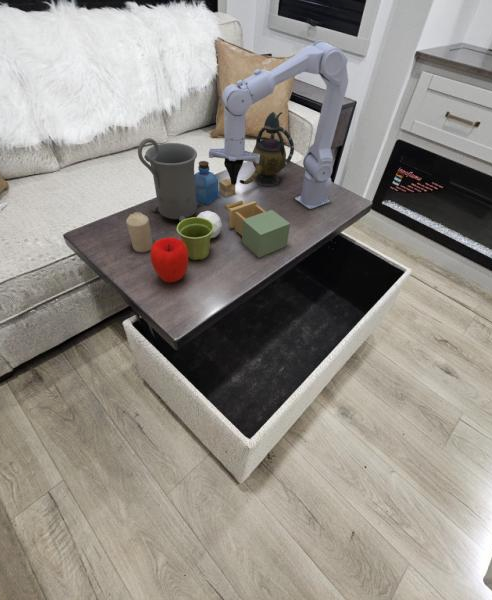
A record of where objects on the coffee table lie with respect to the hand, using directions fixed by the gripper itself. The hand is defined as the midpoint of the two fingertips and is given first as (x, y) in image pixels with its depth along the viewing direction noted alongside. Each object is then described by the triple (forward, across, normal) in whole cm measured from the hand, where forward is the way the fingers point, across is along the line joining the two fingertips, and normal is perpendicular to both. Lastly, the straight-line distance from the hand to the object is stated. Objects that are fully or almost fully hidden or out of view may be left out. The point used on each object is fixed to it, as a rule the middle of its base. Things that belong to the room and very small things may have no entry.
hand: (233, 182), depth 102 cm
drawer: (+9, +5, -9) cm, 13 cm away
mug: (+10, -17, -8) cm, 21 cm away
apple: (+10, -10, -35) cm, 38 cm away
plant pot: (+10, -6, -24) cm, 27 cm away
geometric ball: (+10, -5, -15) cm, 19 cm away
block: (+9, -4, +10) cm, 15 cm away
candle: (+10, -21, -24) cm, 34 cm away
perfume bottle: (+10, -10, +5) cm, 15 cm away
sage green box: (+9, +12, -16) cm, 22 cm away
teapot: (+10, +7, +20) cm, 23 cm away
